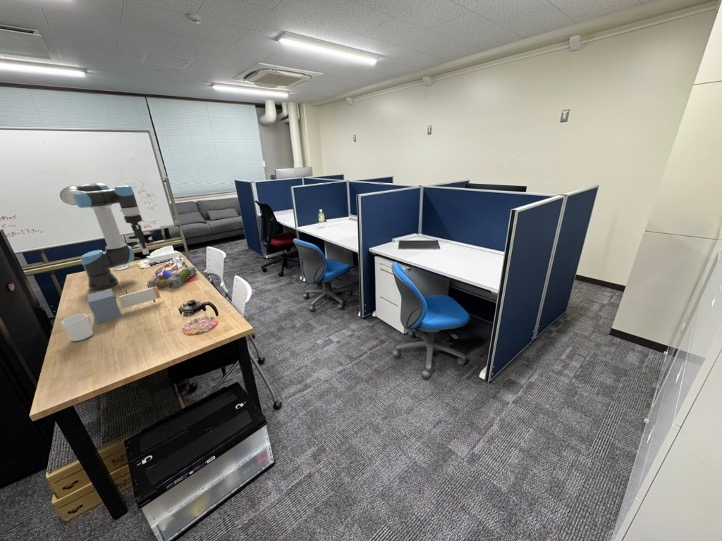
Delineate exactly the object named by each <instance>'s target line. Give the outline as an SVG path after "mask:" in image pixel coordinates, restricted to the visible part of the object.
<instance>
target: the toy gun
mask: <svg viewBox="0 0 722 541" xmlns="http://www.w3.org/2000/svg"><path fill="white" fill-rule="evenodd" d="M197 271H198V269H196V267H195V266H188V267H185V268H184V269H182V270H181V271H179V272H178V273H176V274H174V275H172V276H169V277H168V276H167V275H166V274H164V275H163V274H160V275H155V276H156V277H153V278H151V279H150V280H148V281H147V284H148V288H152V287H156V286H157V288H158V289H160V288H166V287H168V288H169V289H173V288H174V289H175V288H176V289H177V288H178V287H179V286H181V285H183V284H184V282H186V281H187V280H189V279H188V277H190V275H193V274H195V273H196V274H197ZM196 274H195V275H196ZM157 278H158V279H157ZM190 278H191V277H190ZM186 279H187V280H186ZM185 280H186V281H185Z"/></svg>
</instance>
